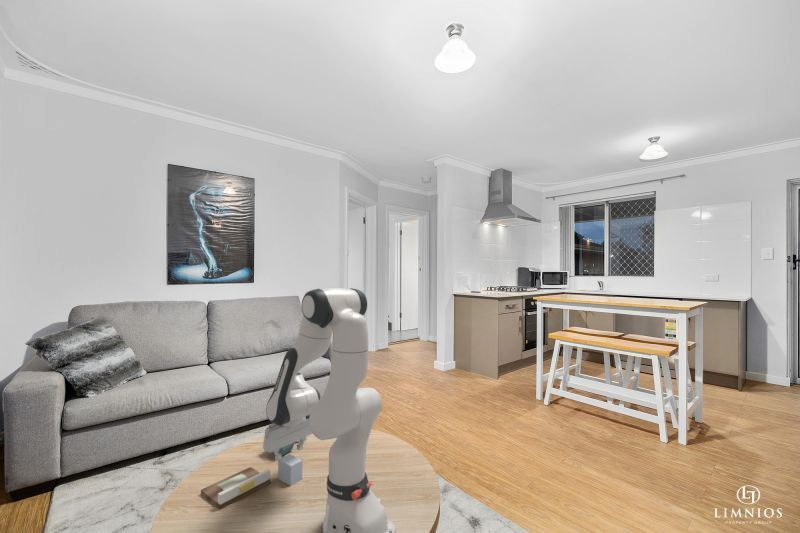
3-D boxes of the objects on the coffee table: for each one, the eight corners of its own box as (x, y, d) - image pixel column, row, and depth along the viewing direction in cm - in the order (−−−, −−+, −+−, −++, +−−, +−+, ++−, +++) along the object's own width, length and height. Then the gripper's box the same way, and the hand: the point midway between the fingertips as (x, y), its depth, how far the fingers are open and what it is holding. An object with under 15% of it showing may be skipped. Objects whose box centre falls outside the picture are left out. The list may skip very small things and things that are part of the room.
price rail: (271, 479, 129) (271, 471, 129) (221, 505, 114) (221, 495, 114) (267, 477, 130) (267, 469, 130) (217, 502, 116) (217, 493, 116)
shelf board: (270, 483, 129) (270, 478, 129) (220, 509, 115) (220, 504, 115) (249, 471, 137) (250, 466, 137) (200, 494, 122) (200, 489, 122)
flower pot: (266, 454, 149) (266, 432, 149) (282, 445, 157) (282, 424, 157) (281, 459, 145) (282, 437, 145) (297, 450, 153) (297, 429, 153)
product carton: (289, 472, 136) (290, 453, 136) (302, 479, 132) (302, 460, 132) (278, 478, 132) (278, 459, 132) (290, 486, 128) (291, 466, 128)
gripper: (270, 429, 122) (269, 469, 122) (317, 410, 139) (316, 446, 139) (260, 423, 126) (258, 463, 126) (306, 406, 142) (305, 441, 142)
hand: (289, 454), depth 132 cm, fingers open, 8 cm apart
